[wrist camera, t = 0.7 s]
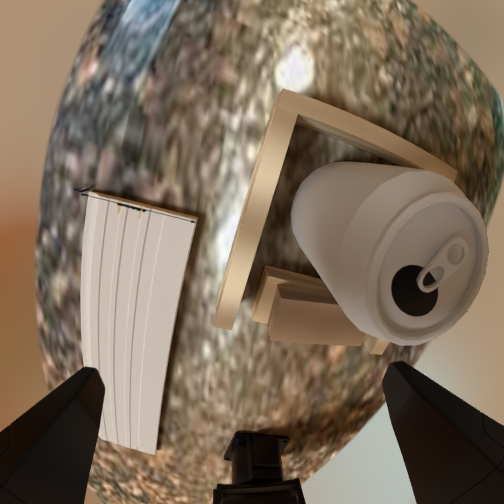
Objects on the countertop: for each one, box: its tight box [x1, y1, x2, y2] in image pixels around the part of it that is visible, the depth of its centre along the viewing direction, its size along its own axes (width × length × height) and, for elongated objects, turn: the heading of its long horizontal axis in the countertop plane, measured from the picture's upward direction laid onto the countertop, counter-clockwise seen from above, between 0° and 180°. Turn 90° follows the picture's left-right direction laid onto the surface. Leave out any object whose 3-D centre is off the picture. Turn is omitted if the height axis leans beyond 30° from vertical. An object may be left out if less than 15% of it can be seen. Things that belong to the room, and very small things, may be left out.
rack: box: [214, 89, 458, 355], centre depth 19 cm, size 15×13×4 cm
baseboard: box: [74, 188, 198, 455], centre depth 23 cm, size 30×3×10 cm
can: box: [291, 161, 489, 345], centre depth 14 cm, size 8×8×12 cm
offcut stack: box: [252, 265, 366, 346], centre depth 20 cm, size 4×8×4 cm, turn 74°
